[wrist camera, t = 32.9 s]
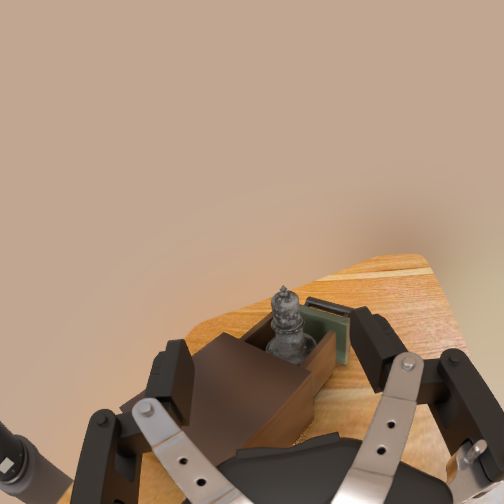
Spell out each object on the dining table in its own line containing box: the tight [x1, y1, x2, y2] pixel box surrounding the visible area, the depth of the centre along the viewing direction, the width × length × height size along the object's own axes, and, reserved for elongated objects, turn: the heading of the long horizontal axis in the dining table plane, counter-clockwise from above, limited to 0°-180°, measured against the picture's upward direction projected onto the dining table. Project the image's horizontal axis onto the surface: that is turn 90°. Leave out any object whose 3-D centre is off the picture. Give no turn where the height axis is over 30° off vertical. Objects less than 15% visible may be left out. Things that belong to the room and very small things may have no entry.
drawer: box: [240, 297, 354, 397], centre depth 33 cm, size 18×10×7 cm, turn 138°
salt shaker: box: [266, 286, 316, 366], centre depth 30 cm, size 6×6×12 cm
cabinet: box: [120, 332, 314, 467], centre depth 25 cm, size 15×12×9 cm
